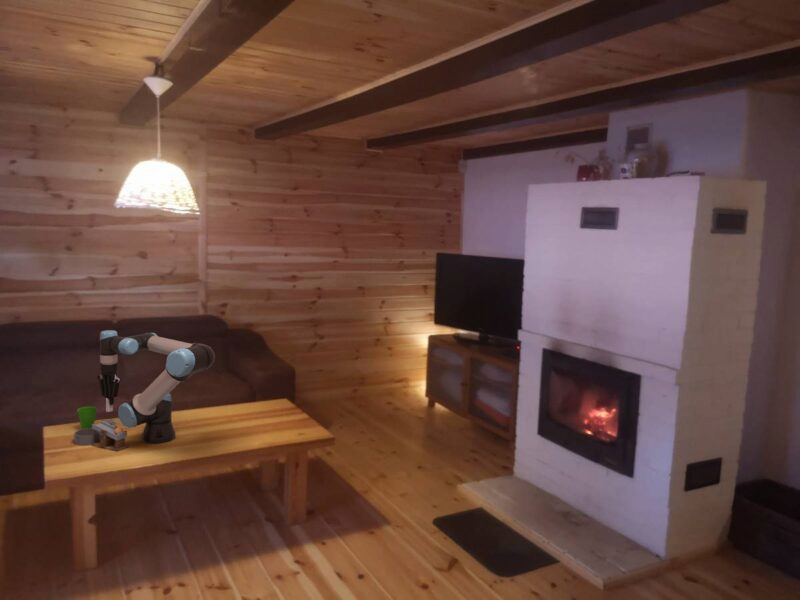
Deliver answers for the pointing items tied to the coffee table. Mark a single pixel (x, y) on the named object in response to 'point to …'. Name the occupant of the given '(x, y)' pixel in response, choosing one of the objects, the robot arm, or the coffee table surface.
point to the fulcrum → (110, 442)
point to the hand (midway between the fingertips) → (109, 411)
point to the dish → (86, 436)
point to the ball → (118, 430)
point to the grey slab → (109, 429)
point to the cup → (87, 416)
